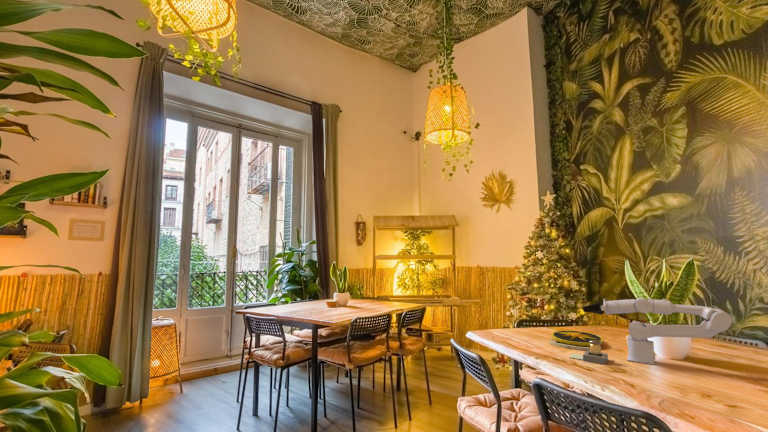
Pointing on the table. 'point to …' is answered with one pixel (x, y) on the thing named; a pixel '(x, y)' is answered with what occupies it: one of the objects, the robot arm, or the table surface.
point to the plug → (595, 347)
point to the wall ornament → (574, 339)
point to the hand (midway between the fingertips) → (584, 309)
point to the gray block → (595, 358)
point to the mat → (576, 356)
